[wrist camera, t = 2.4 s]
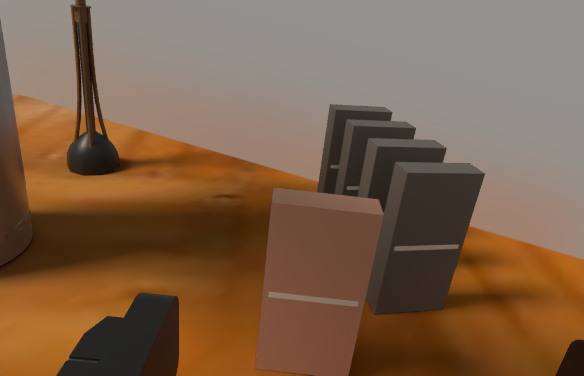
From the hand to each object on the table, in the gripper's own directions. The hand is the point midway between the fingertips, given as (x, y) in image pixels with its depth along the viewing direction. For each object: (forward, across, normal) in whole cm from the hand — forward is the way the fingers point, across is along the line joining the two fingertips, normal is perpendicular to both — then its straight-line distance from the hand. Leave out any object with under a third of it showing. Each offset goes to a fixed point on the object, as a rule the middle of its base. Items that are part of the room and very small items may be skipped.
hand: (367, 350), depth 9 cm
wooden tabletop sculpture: (+35, +22, +12) cm, 43 cm away
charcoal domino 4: (+18, -7, +12) cm, 22 cm away
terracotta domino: (+12, 0, +12) cm, 17 cm away
